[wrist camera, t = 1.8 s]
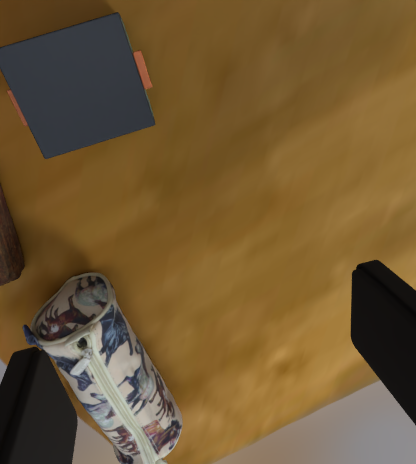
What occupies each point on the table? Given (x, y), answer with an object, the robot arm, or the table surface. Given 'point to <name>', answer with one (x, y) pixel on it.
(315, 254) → the table surface
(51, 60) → the lunchbox
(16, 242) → the brick
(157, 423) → the pencil case
